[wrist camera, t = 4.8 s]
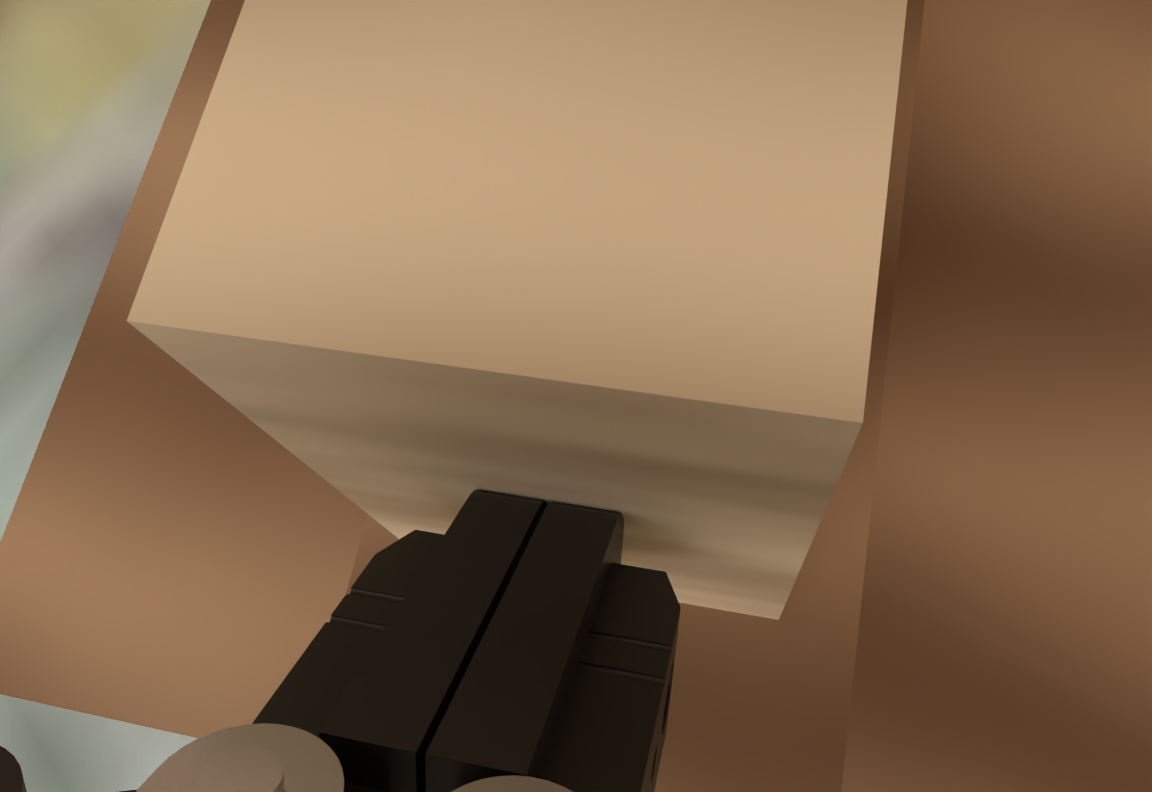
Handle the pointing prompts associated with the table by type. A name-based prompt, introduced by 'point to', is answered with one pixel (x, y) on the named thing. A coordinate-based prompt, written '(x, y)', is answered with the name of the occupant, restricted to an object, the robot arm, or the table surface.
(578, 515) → the robot arm
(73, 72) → the table surface
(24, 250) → the table surface
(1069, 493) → the trap deck
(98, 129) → the table surface
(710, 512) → the maple block
